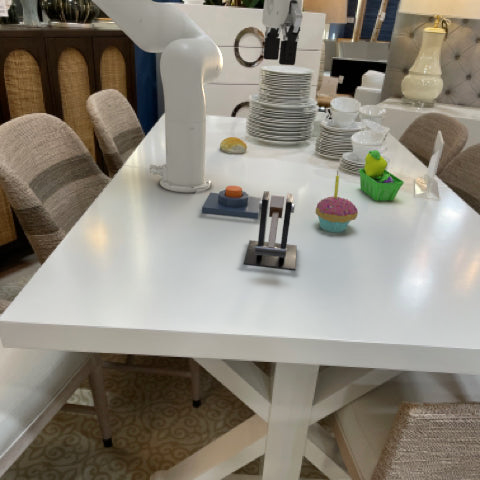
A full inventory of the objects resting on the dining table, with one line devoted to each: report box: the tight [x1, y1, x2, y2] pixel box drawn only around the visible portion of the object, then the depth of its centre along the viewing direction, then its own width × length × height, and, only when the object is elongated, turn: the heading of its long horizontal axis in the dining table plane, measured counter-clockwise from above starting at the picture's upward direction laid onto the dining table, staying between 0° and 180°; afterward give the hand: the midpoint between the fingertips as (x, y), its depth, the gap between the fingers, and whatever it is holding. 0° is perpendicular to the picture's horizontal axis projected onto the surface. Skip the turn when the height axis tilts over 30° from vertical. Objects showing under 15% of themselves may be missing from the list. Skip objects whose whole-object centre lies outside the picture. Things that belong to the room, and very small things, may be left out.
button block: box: [201, 189, 263, 220], centre depth 104 cm, size 12×10×4 cm
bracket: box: [243, 190, 298, 271], centre depth 83 cm, size 10×9×12 cm
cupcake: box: [315, 171, 359, 233], centre depth 96 cm, size 9×8×12 cm
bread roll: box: [219, 136, 248, 155], centre depth 149 cm, size 8×9×4 cm
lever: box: [255, 195, 287, 258], centre depth 78 cm, size 12×5×2 cm, turn 173°
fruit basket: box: [358, 149, 405, 202], centre depth 119 cm, size 11×9×11 cm
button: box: [225, 185, 243, 198], centre depth 102 cm, size 4×4×2 cm
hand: (278, 61), depth 96 cm, fingers open, 9 cm apart
